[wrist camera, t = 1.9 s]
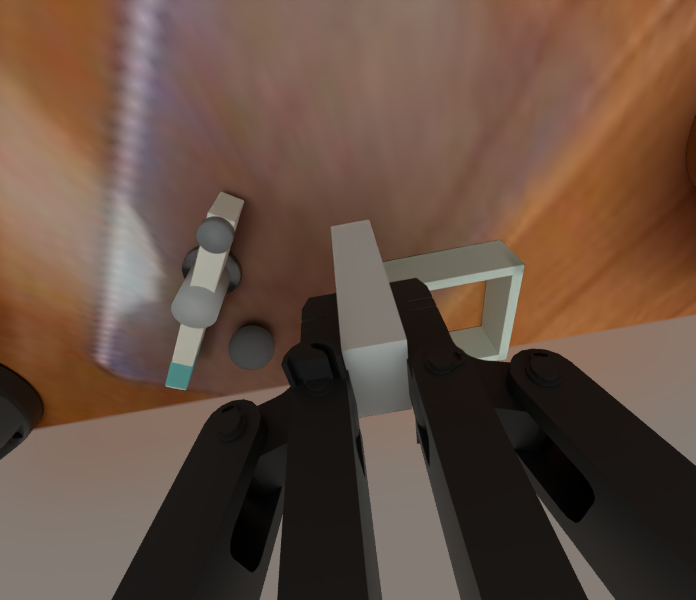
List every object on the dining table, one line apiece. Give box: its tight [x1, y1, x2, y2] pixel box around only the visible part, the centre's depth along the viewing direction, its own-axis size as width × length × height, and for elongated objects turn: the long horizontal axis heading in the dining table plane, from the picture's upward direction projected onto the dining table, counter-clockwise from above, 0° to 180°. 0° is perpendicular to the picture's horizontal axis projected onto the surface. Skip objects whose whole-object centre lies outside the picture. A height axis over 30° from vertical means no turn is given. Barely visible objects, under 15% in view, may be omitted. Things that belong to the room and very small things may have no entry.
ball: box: [229, 325, 274, 370], centre depth 30 cm, size 4×4×4 cm
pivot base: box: [182, 246, 241, 294], centre depth 27 cm, size 4×4×1 cm
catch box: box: [383, 240, 525, 361], centre depth 30 cm, size 11×11×4 cm
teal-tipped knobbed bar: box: [165, 192, 244, 390], centre depth 25 cm, size 3×17×5 cm, turn 154°
